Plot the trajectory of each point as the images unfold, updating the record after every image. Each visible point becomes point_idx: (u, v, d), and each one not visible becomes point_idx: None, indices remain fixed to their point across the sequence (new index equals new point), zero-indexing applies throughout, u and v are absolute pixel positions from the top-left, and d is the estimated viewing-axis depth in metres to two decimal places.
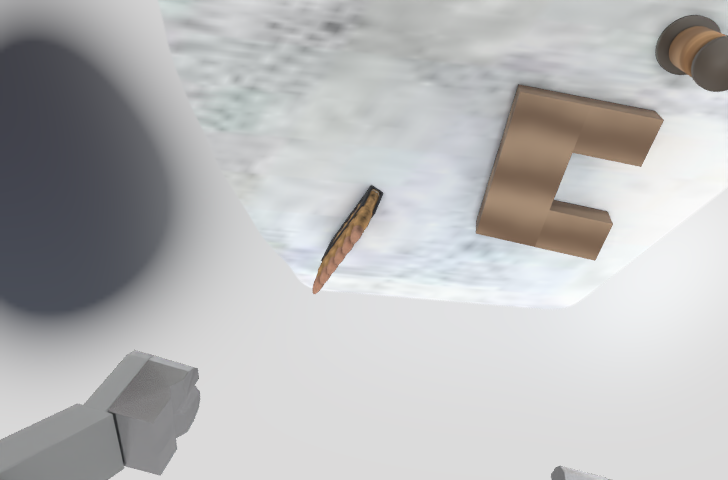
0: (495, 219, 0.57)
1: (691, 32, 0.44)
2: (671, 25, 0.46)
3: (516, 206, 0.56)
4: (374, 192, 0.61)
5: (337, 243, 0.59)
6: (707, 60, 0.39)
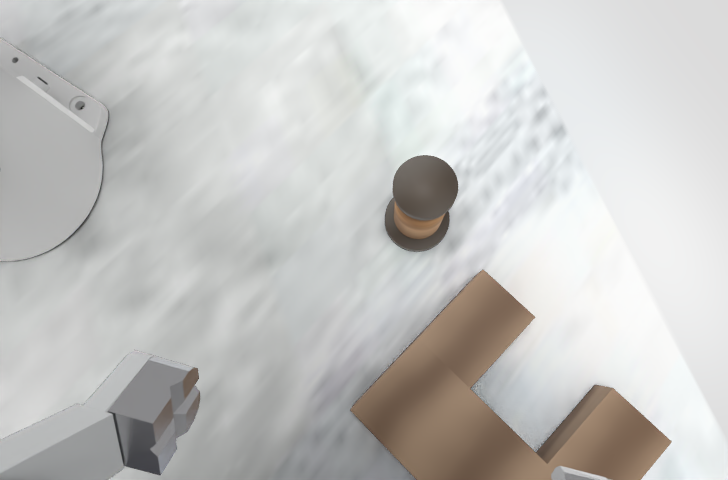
0: None
1: None
2: None
3: None
4: None
5: None
6: (409, 199, 0.32)
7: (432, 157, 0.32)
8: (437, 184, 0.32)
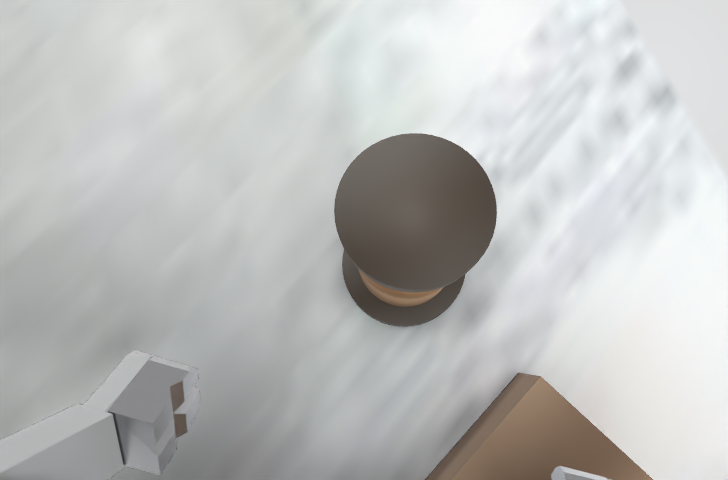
0: None
1: None
2: None
3: None
4: None
5: None
6: (375, 243, 0.13)
7: (431, 138, 0.13)
8: (444, 204, 0.13)
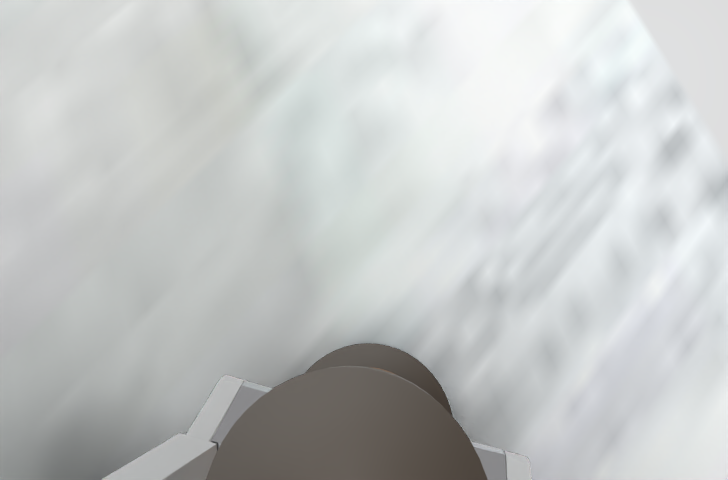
0: None
1: None
2: None
3: None
4: None
5: None
6: None
7: (379, 378, 0.07)
8: None
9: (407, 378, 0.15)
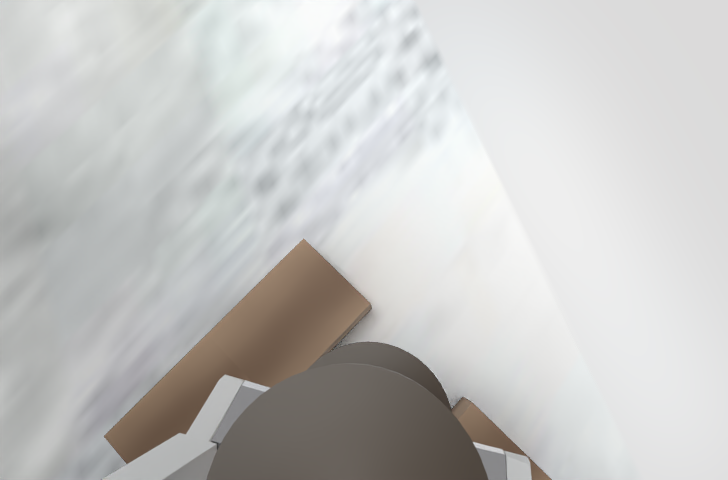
0: None
1: None
2: None
3: None
4: None
5: None
6: None
7: (379, 375, 0.07)
8: None
9: (407, 376, 0.15)
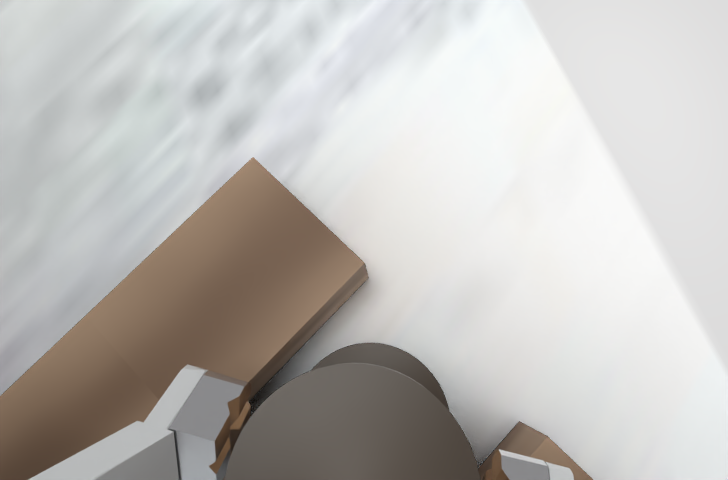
0: None
1: None
2: None
3: None
4: None
5: None
6: None
7: (381, 373, 0.08)
8: None
9: (407, 375, 0.16)
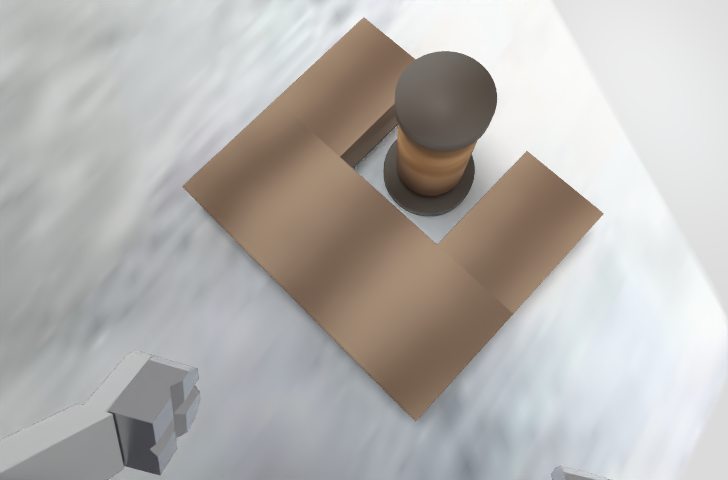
0: (403, 360, 0.24)
1: None
2: (385, 180, 0.29)
3: (395, 300, 0.24)
4: None
5: None
6: (420, 117, 0.20)
7: (455, 54, 0.21)
8: (464, 94, 0.20)
9: None
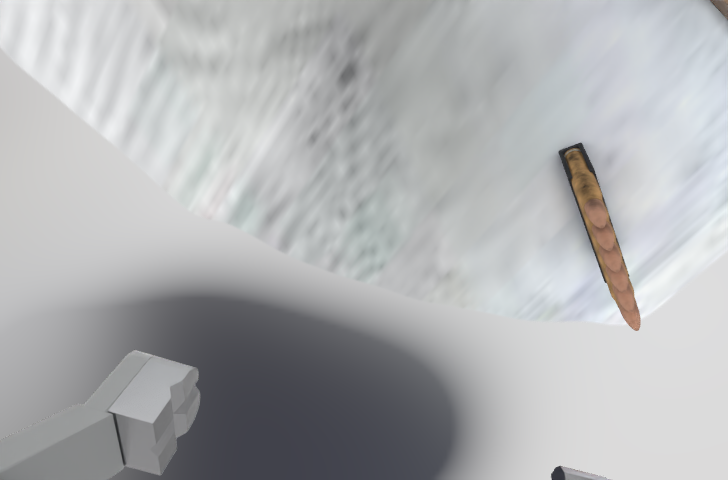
0: None
1: None
2: None
3: None
4: (570, 153, 0.40)
5: (596, 246, 0.37)
6: None
7: None
8: None
9: None
